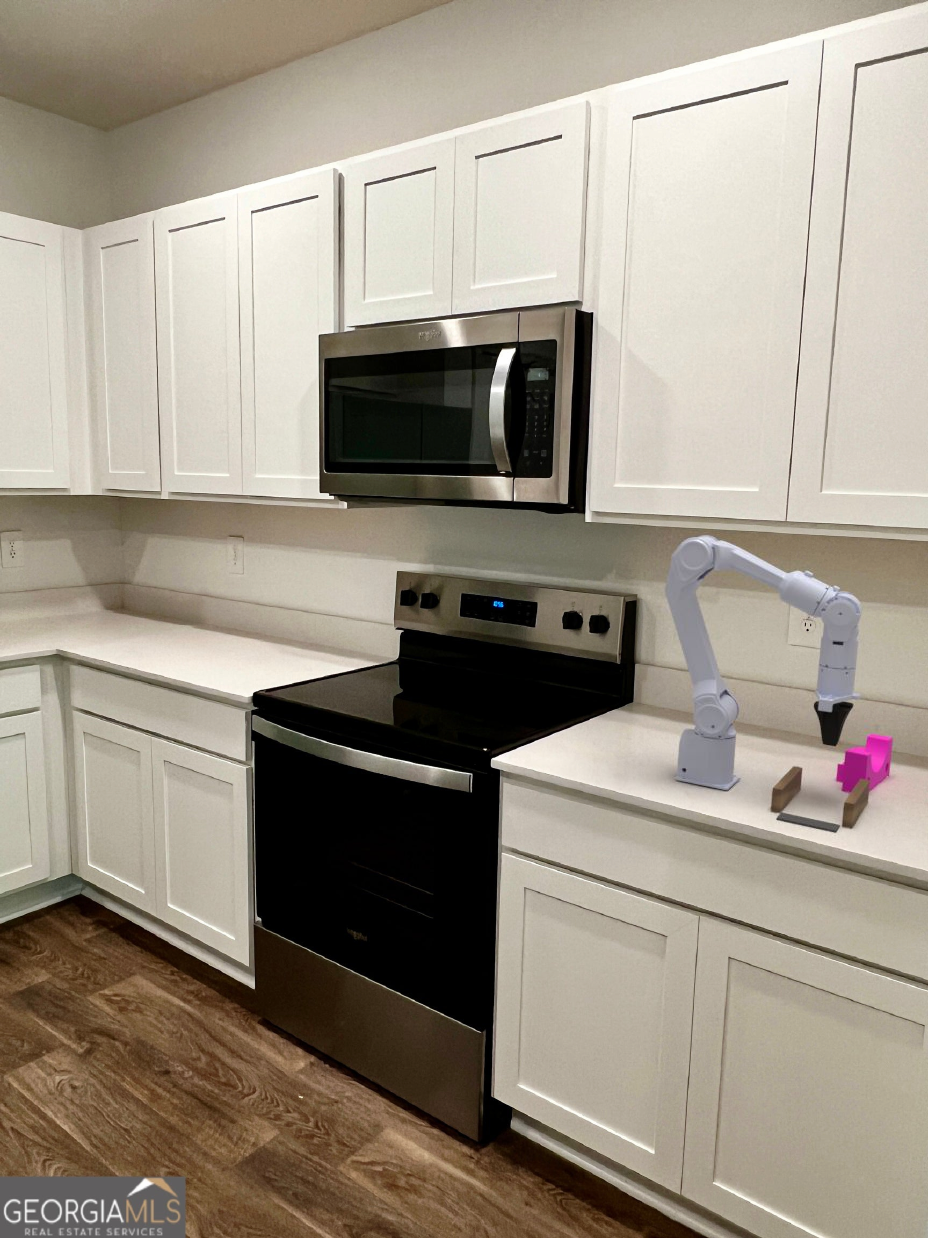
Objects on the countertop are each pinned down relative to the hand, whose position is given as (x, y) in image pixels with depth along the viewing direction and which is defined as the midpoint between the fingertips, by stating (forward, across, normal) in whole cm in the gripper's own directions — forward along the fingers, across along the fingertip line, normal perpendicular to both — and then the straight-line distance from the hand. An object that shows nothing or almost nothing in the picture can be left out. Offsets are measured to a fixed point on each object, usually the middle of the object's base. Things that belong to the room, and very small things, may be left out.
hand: (830, 744), depth 152 cm
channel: (+10, -4, 0) cm, 11 cm away
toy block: (+10, +14, -3) cm, 18 cm away
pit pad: (+10, -13, 0) cm, 16 cm away
